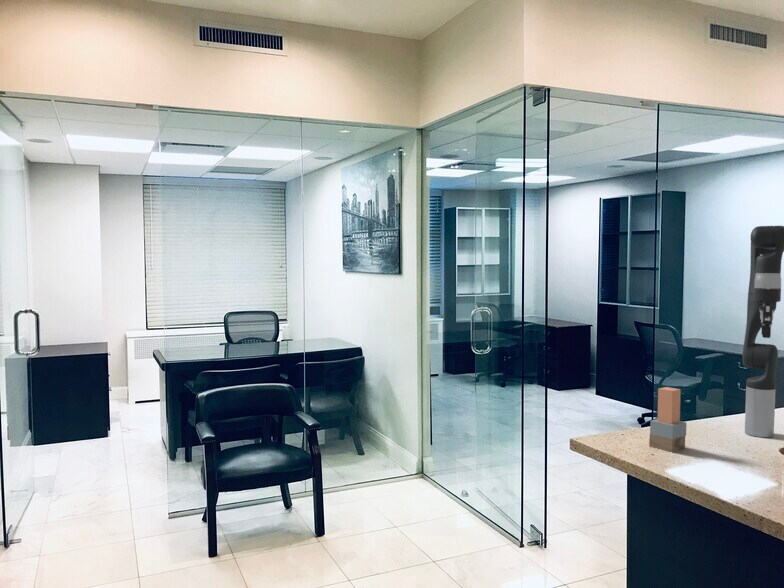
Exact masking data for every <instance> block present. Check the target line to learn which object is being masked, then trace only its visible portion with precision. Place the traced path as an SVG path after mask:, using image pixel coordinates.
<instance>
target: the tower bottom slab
mask: <svg viewBox="0 0 784 588" xmlns="http://www.w3.org/2000/svg"><path fill="white" fill-rule="evenodd" d="M648 442H649V444H648V446H649V448H652V449H656V448H657V450H660V449H661V451H664V452H668V453H671V452H672V453H675V452H678V450H679V451H683V450H686V436H684V437H680V438H676V439H669V438H665V437H661V436H657V435H653V434H650V433H649V441H648Z"/></svg>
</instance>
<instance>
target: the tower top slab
mask: <svg viewBox="0 0 784 588" xmlns="http://www.w3.org/2000/svg"><path fill="white" fill-rule="evenodd" d="M657 419H658V418H656V419H653V420H652V419H651V420H650V431H649V435H650V434H653V435H657V436H661V437H665V438H669V439H676V438H680V437H684V436H685V437H686V436H687V422H685V421H681V420H680V422H678V423H674V424H669V423H664V422H659V421H657Z"/></svg>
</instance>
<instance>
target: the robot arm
mask: <svg viewBox="0 0 784 588" xmlns="http://www.w3.org/2000/svg"><path fill="white" fill-rule="evenodd" d="M783 253H784V225H759V226H755V227H754V228H753V229H752V231H751V232H750V271H749V273H750V274H749V280H748V281H749V282H748V283H749V284H748V291H747V292H748V293H747V301H746V302H747V306H746V307H747V308H746V325H745V334H744V340H743V341H744V342H743V346H742V365H743V367H745V368H749V369H756V370H758V369H759V370H765V372H764V373H763V374H761V375H759V376H752V377H749V378H747V379H746V383H745V385H746V386H745V409H744V410H745V411H744V413H745V414H744V415H745V416H744V434H746V435H749V436H752V437H759V438H773V437H774V436H775V413H776V411H775V410H776V385H777V367H778V359H779V351H778V347H777V346H776V345H775V344H768V343H757V342H756V340H757V336H758V333H760V330H761V335H762V337H763V338H764V339H770V338H771V330H772V325H773V320H774V314H775V311H776V310H777V303H779V302H781V301H782V300H781V299H782V298H781V297H782V274H781V273H782V260H783V259H782V258H783Z"/></svg>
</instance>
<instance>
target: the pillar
mask: <svg viewBox="0 0 784 588" xmlns="http://www.w3.org/2000/svg"><path fill="white" fill-rule="evenodd" d="M657 390H658V391H657V392H658V393H657V418H656V419H657V421H659V422H664V423H669V424H674V423H678V422H680V421H681V395H682V393H681V392H682V390H681V389H680V388H675V387H669V386H665V387H660V388H657Z"/></svg>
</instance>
